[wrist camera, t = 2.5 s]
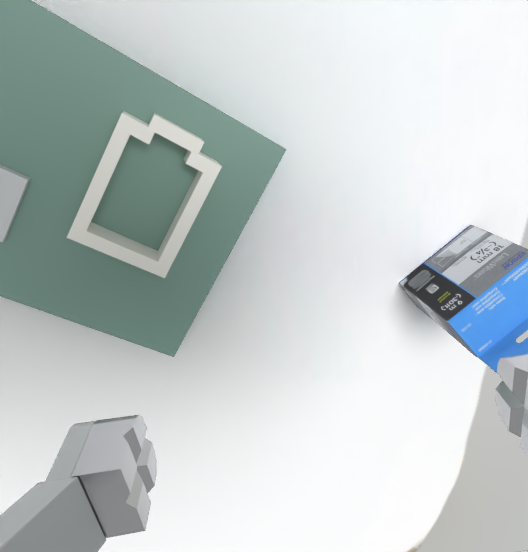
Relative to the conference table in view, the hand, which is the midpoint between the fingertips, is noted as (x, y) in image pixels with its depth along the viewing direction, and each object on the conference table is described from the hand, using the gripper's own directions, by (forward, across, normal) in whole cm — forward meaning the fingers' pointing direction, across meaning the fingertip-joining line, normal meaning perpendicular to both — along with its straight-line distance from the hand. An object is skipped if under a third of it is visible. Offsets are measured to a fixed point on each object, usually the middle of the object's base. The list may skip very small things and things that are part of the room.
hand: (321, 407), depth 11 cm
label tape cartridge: (+32, -16, +13) cm, 38 cm away
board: (+27, +14, 0) cm, 30 cm away
